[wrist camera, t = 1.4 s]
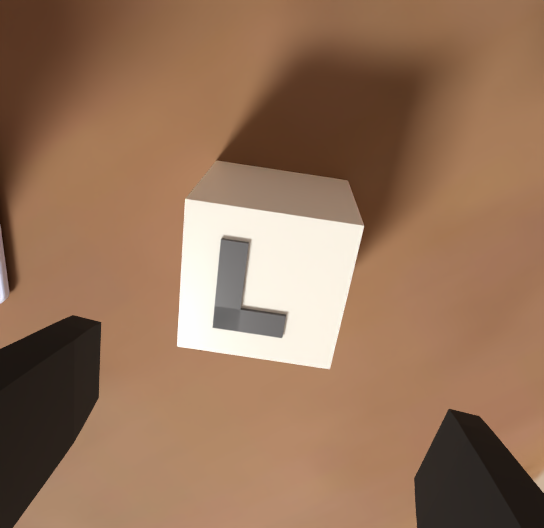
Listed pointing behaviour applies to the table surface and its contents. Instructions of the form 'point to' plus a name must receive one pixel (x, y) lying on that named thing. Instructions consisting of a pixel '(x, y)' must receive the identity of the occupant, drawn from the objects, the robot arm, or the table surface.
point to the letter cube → (267, 263)
